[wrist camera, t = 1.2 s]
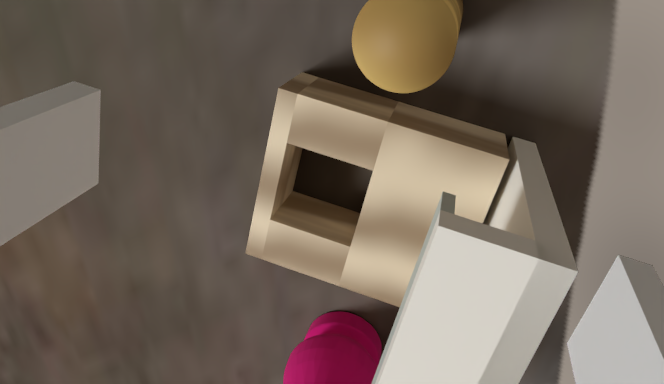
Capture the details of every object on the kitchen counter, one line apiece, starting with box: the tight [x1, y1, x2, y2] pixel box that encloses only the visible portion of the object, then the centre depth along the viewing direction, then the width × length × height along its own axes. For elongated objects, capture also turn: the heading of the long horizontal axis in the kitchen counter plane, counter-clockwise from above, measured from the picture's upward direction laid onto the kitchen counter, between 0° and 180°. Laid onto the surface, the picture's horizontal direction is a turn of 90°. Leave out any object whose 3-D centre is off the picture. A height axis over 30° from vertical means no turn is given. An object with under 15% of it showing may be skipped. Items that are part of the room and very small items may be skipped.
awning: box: [372, 137, 578, 384], centre depth 31 cm, size 12×6×16 cm, turn 166°
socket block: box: [246, 72, 510, 307], centre depth 36 cm, size 12×14×5 cm
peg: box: [352, 0, 463, 93], centre depth 27 cm, size 4×4×14 cm
